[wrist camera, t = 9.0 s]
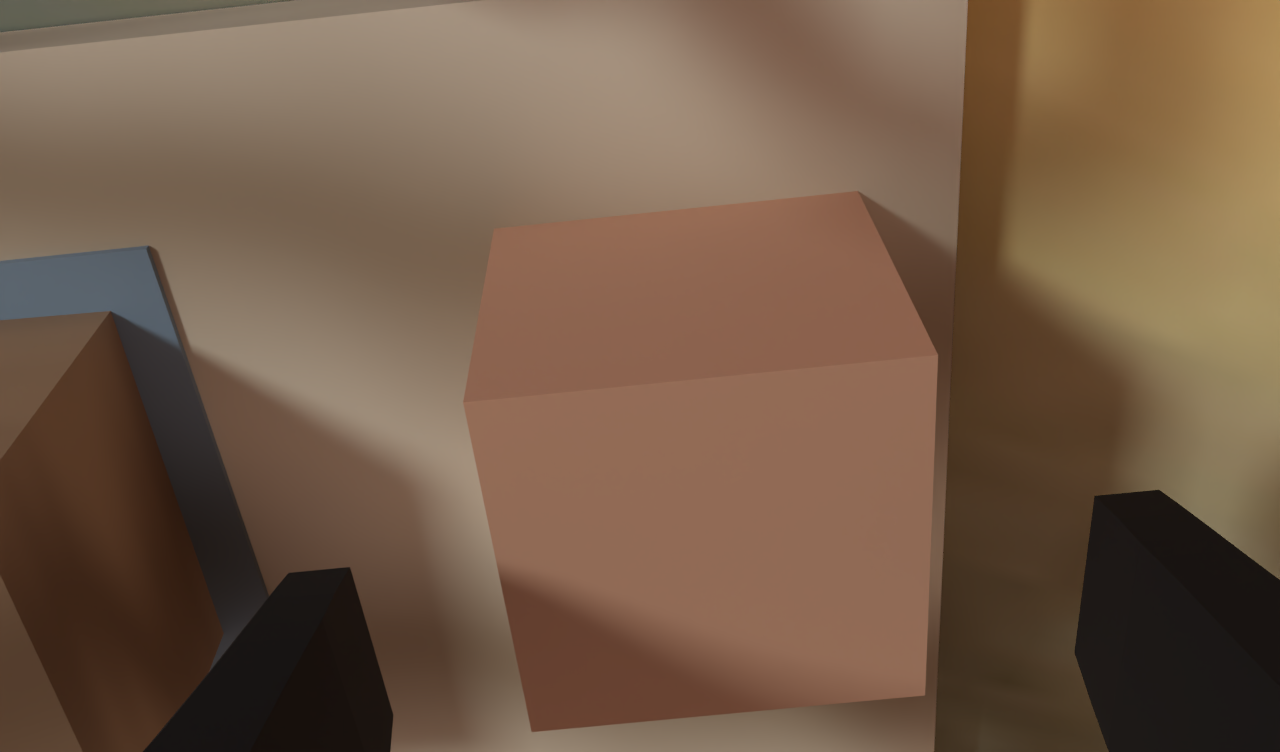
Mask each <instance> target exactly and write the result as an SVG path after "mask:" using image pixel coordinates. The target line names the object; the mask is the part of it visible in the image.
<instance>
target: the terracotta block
mask: <svg viewBox="0 0 1280 752" xmlns="http://www.w3.org/2000/svg"><path fill="white" fill-rule="evenodd" d="M937 371H938V354H937V352H936V350H935V348H934V346H933V344H932V341H931V339H930V337H929V335H928V333H927V331H926V329H925V327H924V325H923V323H922V321H921V319H920V317H919V315H918V313H917V311H916V309H915V307H914V305H913V303H912V301H911V299H910V297H909V294H908V292H907V290H906V288H905V286H904V284H903V282H902V280H901V278H900V276H899V274H898V272H897V270H896V268H895V266H894V264H893V262H892V260H891V258H890V256H889V254H888V252H887V250H886V247H885V245H884V243H883V241H882V239H881V237H880V235H879V233H878V231H877V229H876V227H875V225H874V223H873V221H872V219H871V217H870V215H869V213H868V211H867V209H866V207H865V205H864V203H863V200H862V198H861V196H860V194H859V192H858V191H853V192H844V193H834V194H824V195H815V196H805V197H795V198H786V199H776V200H766V201H757V202H747V203H737V204H728V205H718V206H708V207H699V208H689V209H679V210H670V211H660V212H650V213H641V214H631V215H621V216H611V217H602V218H592V219H582V220H573V221H563V222H553V223H544V224H534V225H524V226H515V227H505V228H495V229H494V231H493V237H492V242H491V248H490V254H489V259H488V265H487V271H486V276H485V282H484V287H483V293H482V299H481V304H480V310H479V316H478V321H477V327H476V332H475V338H474V344H473V349H472V355H471V361H470V366H469V372H468V378H467V383H466V389H465V394H464V400H463V405H464V409H465V414H466V419H467V424H468V429H469V433H470V438H471V443H472V448H473V453H474V457H475V462H476V467H477V472H478V477H479V481H480V486H481V491H482V496H483V501H484V506H485V510H486V515H487V520H488V525H489V530H490V534H491V539H492V544H493V549H494V554H495V558H496V563H497V568H498V573H499V578H500V582H501V587H502V592H503V597H504V602H505V606H506V611H507V616H508V621H509V626H510V630H511V635H512V640H513V645H514V650H515V654H516V659H517V664H518V669H519V674H520V679H521V683H522V688H523V693H524V698H525V703H526V707H527V712H528V717H529V722H530V727H531V731H532V732H539V731H550V730H560V729H571V728H582V727H593V726H603V725H614V724H625V723H635V722H646V721H657V720H668V719H678V718H689V717H700V716H710V715H721V714H732V713H743V712H753V711H764V710H775V709H785V708H796V707H807V706H818V705H828V704H839V703H850V702H860V701H871V700H882V699H892V698H903V697H914V696H925V687H926V661H927V635H928V608H929V582H930V556H931V529H932V503H933V477H934V450H935V424H936V398H937Z"/></svg>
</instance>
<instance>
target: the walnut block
mask: <svg viewBox="0 0 1280 752" xmlns="http://www.w3.org/2000/svg"><path fill="white" fill-rule="evenodd" d="M223 634H224V633H223V630H222V627H221V624H220V621H219V618H218V616H217V613H216V610H215V607H214V604H213V601H212V599H211V596H210V593H209V590H208V587H207V584H206V581H205V579H204V576H203V573H202V570H201V567H200V564H199V561H198V559H197V556H196V553H195V550H194V547H193V544H192V542H191V539H190V536H189V533H188V530H187V527H186V524H185V522H184V519H183V516H182V513H181V510H180V507H179V505H178V502H177V499H176V496H175V493H174V490H173V487H172V485H171V482H170V479H169V476H168V473H167V470H166V467H165V465H164V462H163V459H162V456H161V453H160V450H159V448H158V445H157V442H156V439H155V436H154V433H153V430H152V428H151V425H150V422H149V419H148V416H147V413H146V410H145V408H144V405H143V402H142V399H141V396H140V393H139V391H138V388H137V385H136V382H135V379H134V376H133V373H132V371H131V368H130V365H129V362H128V359H127V356H126V353H125V351H124V348H123V345H122V342H121V339H120V336H119V334H118V331H117V328H116V325H115V322H114V319H113V316H112V314H111V311H104V312H92V313H80V314H69V315H57V316H45V317H33V318H21V319H10V320H0V752H143V751H144V750H145V748H146V747H147V746H148V745H149V744H150V743H151V742H152V740H153V739H154V738H155V737H156V736H157V734H158V733H159V732H160V731H161V730H162V728H163V727H164V726H165V725H166V723H167V722H168V721H169V720H170V719H171V717H172V716H173V715H174V714H175V713H176V711H177V710H178V709H179V708H180V707H181V705H182V704H183V703H184V702H185V701H186V699H187V698H188V697H189V696H190V695H191V693H192V692H193V691H194V690H195V689H196V687H197V686H198V685H199V684H200V683H201V681H202V680H203V679H204V678H205V676H206V675H207V674H208V673H209V671H210V668H211V665H212V663H213V660H214V658H215V655H216V652H217V650H218V647H219V644H220V642H221V639H222V637H223Z"/></svg>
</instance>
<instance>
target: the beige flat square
mask: <svg viewBox="0 0 1280 752" xmlns="http://www.w3.org/2000/svg"><path fill="white" fill-rule="evenodd" d="M967 11H968V0H295V1H286V2H276V3H267V4H258V5H249V6H240V7H230V8H221V9H212V10H203V11H193V12H184V13H175V14H166V15H156V16H147V17H138V18H129V19H120V20H110V21H101V22H92V23H83V24H73V25H64V26H55V27H46V28H36V29H27V30H18V31H9V32H0V320H10V319H21V318H33V317H45V316H57V315H69V314H80V313H92V312H104V311H111V314H112V316H113V319H114V322H115V325H116V328H117V331H118V334H119V336H120V339H121V342H122V345H123V348H124V351H125V353H126V356H127V359H128V362H129V365H130V368H131V371H132V373H133V376H134V379H135V382H136V385H137V388H138V391H139V393H140V396H141V399H142V402H143V405H144V408H145V410H146V413H147V416H148V419H149V422H150V425H151V428H152V430H153V433H154V436H155V439H156V442H157V445H158V448H159V450H160V453H161V456H162V459H163V462H164V465H165V467H166V470H167V473H168V476H169V479H170V482H171V485H172V487H173V490H174V493H175V496H176V499H177V502H178V505H179V507H180V510H181V513H182V516H183V519H184V522H185V524H186V527H187V530H188V533H189V536H190V539H191V542H192V544H193V547H194V550H195V553H196V556H197V559H198V561H199V564H200V567H201V570H202V573H203V576H204V579H205V581H206V584H207V587H208V590H209V593H210V596H211V599H212V601H213V604H214V607H215V610H216V613H217V616H218V618H219V621H220V624H221V627H222V630H223V633H224V634H223V637H222V639H221V642H220V644H219V647H218V650H217V652H216V655H215V658H214V660H213V663H212V665H211V668H210V670H211V669H212V668H213V666H214V665H215V664H216V662H217V661H218V660H219V659H220V657H221V656H222V655H223V654H224V652H225V651H226V650H227V649H228V647H229V646H230V645H231V644H232V642H233V641H234V640H235V639H236V637H237V636H238V635H239V633H240V632H241V631H242V630H243V628H244V627H245V626H246V625H247V623H248V622H249V621H250V619H251V618H252V617H253V616H254V614H255V613H256V612H257V611H258V609H259V608H260V607H261V606H262V604H263V603H264V602H265V601H266V599H267V598H268V597H269V596H270V594H271V593H272V592H273V591H274V590H275V588H276V587H277V586H278V585H279V583H280V582H281V581H282V580H283V579H284V578H285V576H286V575H287V574H288V573H292V572H302V571H313V570H323V569H334V568H344V567H350V569H351V572H352V575H353V579H354V582H355V586H356V589H357V592H358V596H359V599H360V603H361V606H362V609H363V613H364V616H365V620H366V623H367V626H368V630H369V633H370V637H371V640H372V643H373V647H374V650H375V654H376V657H377V660H378V664H379V667H380V671H381V674H382V677H383V681H384V684H385V688H386V691H387V695H388V698H389V701H390V705H391V708H392V712H393V727H392V738H391V750H390V752H934V744H935V722H936V700H937V678H938V655H939V633H940V611H941V589H942V567H943V544H944V522H945V500H946V478H947V456H948V433H949V411H950V389H951V367H952V345H953V322H954V300H955V278H956V256H957V234H958V211H959V189H960V167H961V145H962V123H963V100H964V78H965V56H966V34H967ZM853 191H858V192H859V194H860V196H861V198H862V200H863V203H864V205H865V207H866V209H867V211H868V213H869V215H870V217H871V219H872V221H873V223H874V225H875V227H876V229H877V231H878V233H879V235H880V237H881V239H882V241H883V243H884V245H885V247H886V250H887V252H888V254H889V256H890V258H891V260H892V262H893V264H894V266H895V268H896V270H897V272H898V274H899V276H900V278H901V280H902V282H903V284H904V286H905V288H906V290H907V292H908V294H909V297H910V299H911V301H912V303H913V305H914V307H915V309H916V311H917V313H918V315H919V317H920V319H921V321H922V323H923V325H924V327H925V329H926V331H927V333H928V335H929V337H930V339H931V341H932V344H933V346H934V348H935V350H936V352H937V354H938V371H937V398H936V424H935V450H934V477H933V503H932V529H931V556H930V582H929V608H928V635H927V661H926V687H925V696H914V697H903V698H892V699H882V700H871V701H860V702H850V703H839V704H828V705H818V706H807V707H796V708H785V709H775V710H764V711H753V712H743V713H732V714H721V715H710V716H700V717H689V718H678V719H668V720H657V721H646V722H635V723H625V724H614V725H603V726H593V727H582V728H571V729H560V730H550V731H539V732H532V731H531V727H530V722H529V717H528V712H527V707H526V703H525V698H524V693H523V688H522V683H521V679H520V674H519V669H518V664H517V659H516V654H515V650H514V645H513V640H512V635H511V630H510V626H509V621H508V616H507V611H506V606H505V602H504V597H503V592H502V587H501V582H500V578H499V573H498V568H497V563H496V558H495V554H494V549H493V544H492V539H491V534H490V530H489V525H488V520H487V515H486V510H485V506H484V501H483V496H482V491H481V486H480V481H479V477H478V472H477V467H476V462H475V457H474V453H473V448H472V443H471V438H470V433H469V429H468V424H467V419H466V414H465V409H464V405H463V400H464V394H465V389H466V383H467V378H468V372H469V366H470V361H471V355H472V349H473V344H474V338H475V332H476V327H477V321H478V316H479V310H480V304H481V299H482V293H483V287H484V282H485V276H486V271H487V265H488V259H489V254H490V248H491V242H492V237H493V231H494V229H495V228H505V227H515V226H524V225H534V224H544V223H553V222H563V221H573V220H582V219H592V218H602V217H611V216H621V215H631V214H641V213H650V212H660V211H670V210H679V209H689V208H699V207H708V206H718V205H728V204H737V203H747V202H757V201H766V200H776V199H786V198H795V197H805V196H815V195H824V194H834V193H844V192H853Z"/></svg>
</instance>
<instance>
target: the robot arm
mask: <svg viewBox="0 0 1280 752" xmlns="http://www.w3.org/2000/svg"><path fill="white" fill-rule="evenodd" d="M1075 655H1076V658H1077V661H1078V664H1079V667H1080V670H1081V673H1082V676H1083V679H1084V682H1085V685H1086V688H1087V691H1088V694H1089V697H1090V700H1091V703H1092V706H1093V709H1094V712H1095V715H1096V717H1097V720H1098V723H1099V726H1100V728H1101V731H1102V734H1103V737H1104V740H1105V742H1106V745H1107V748H1108V750H1109V752H1280V580H1279V579H1278V578H1276V577H1275V576H1274V575H1272V574H1271V573H1270V572H1268V571H1267V570H1266V569H1264V568H1263V567H1262V566H1260V565H1259V564H1258V563H1256V562H1255V561H1254V560H1252V559H1251V558H1250V557H1248V556H1247V555H1246V554H1244V553H1243V552H1242V551H1240V550H1239V549H1238V548H1236V547H1235V546H1234V545H1232V544H1231V543H1230V542H1228V541H1227V540H1226V539H1225V538H1223V537H1222V536H1221V535H1219V534H1218V533H1217V532H1215V531H1214V530H1213V529H1211V528H1210V527H1209V526H1207V525H1206V524H1205V523H1203V522H1202V521H1201V520H1199V519H1198V518H1197V517H1195V516H1194V515H1193V514H1191V513H1190V512H1189V511H1187V510H1186V509H1185V508H1183V507H1182V506H1181V505H1179V504H1178V503H1177V502H1175V501H1174V500H1172V499H1171V498H1170V497H1168V496H1167V495H1165V494H1164V493H1163V492H1161V491H1160V490H1153V491H1143V492H1132V493H1122V494H1111V495H1101V496H1095V498H1094V505H1093V513H1092V521H1091V529H1090V537H1089V544H1088V552H1087V560H1086V568H1085V575H1084V583H1083V591H1082V599H1081V607H1080V614H1079V622H1078V630H1077V638H1076V645H1075ZM392 727H393V712H392V708H391V705H390V701H389V698H388V695H387V691H386V688H385V684H384V681H383V677H382V674H381V671H380V667H379V664H378V660H377V657H376V654H375V650H374V647H373V643H372V640H371V637H370V633H369V630H368V626H367V623H366V620H365V616H364V613H363V609H362V606H361V603H360V599H359V596H358V592H357V589H356V586H355V582H354V579H353V575H352V572H351V569H350V567H344V568H334V569H323V570H313V571H302V572H292V573H288V574H287V575H286V576H285V578H284V579H283V580H282V581H281V582H280V583H279V585H278V586H277V587H276V588H275V590H274V591H273V592H272V593H271V594H270V596H269V597H268V598H267V599H266V601H265V602H264V603H263V604H262V606H261V607H260V608H259V609H258V611H257V612H256V613H255V614H254V616H253V617H252V618H251V619H250V621H249V622H248V623H247V625H246V626H245V627H244V628H243V630H242V631H241V632H240V633H239V635H238V636H237V637H236V639H235V640H234V641H233V642H232V644H231V645H230V646H229V647H228V649H227V650H226V651H225V652H224V654H223V655H222V656H221V657H220V659H219V660H218V661H217V662H216V664H215V665H214V666H213V668H212V669H211V670H210V671H209V673H208V674H207V675H206V676H205V678H204V679H203V680H202V681H201V683H200V684H199V685H198V686H197V687H196V689H195V690H194V691H193V692H192V693H191V695H190V696H189V697H188V698H187V699H186V701H185V702H184V703H183V704H182V705H181V707H180V708H179V709H178V710H177V711H176V713H175V714H174V715H173V716H172V717H171V719H170V720H169V721H168V722H167V723H166V725H165V726H164V727H163V728H162V730H161V731H160V732H159V733H158V734H157V736H156V737H155V738H154V739H153V740H152V742H151V743H150V744H149V745H148V746H147V747H146V748H145V750H144V751H143V752H390V750H391V738H392Z"/></svg>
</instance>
